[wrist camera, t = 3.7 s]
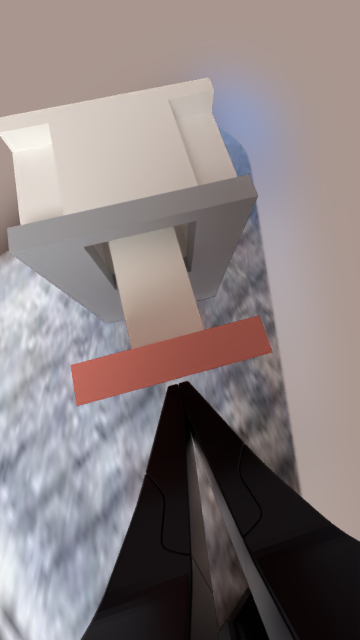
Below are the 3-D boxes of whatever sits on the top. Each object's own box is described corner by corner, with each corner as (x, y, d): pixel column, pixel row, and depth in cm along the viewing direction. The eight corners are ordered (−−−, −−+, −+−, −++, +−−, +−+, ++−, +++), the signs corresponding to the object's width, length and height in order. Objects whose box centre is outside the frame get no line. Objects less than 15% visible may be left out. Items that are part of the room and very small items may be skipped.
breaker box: (214, 296, 19) (258, 195, 8) (107, 323, 18) (9, 253, 8) (193, 231, 20) (208, 77, 10) (94, 255, 20) (-4, 118, 9)
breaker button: (224, 364, 12) (272, 352, 6) (132, 390, 12) (76, 406, 5) (184, 236, 14) (188, 120, 8) (104, 255, 14) (38, 151, 7)
